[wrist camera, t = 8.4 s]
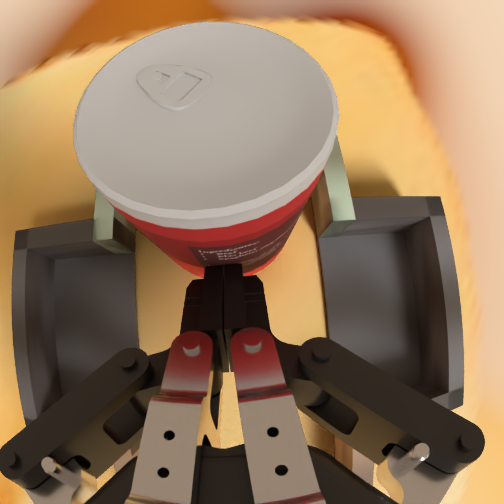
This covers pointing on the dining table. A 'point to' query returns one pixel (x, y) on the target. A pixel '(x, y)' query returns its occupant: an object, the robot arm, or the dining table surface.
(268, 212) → the canned food
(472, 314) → the dining table surface
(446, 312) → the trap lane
